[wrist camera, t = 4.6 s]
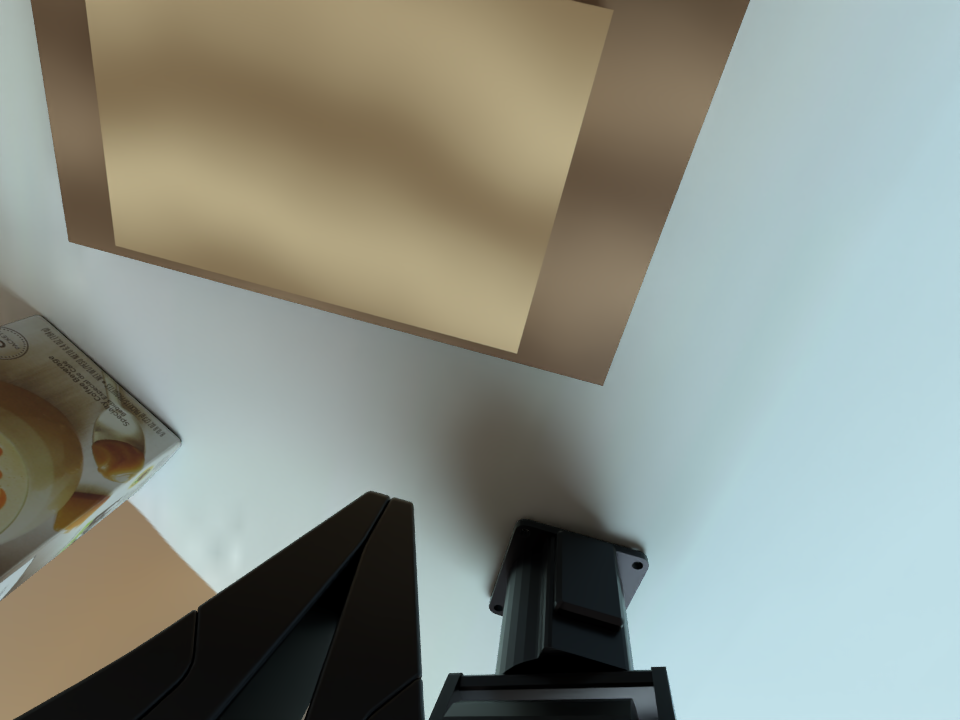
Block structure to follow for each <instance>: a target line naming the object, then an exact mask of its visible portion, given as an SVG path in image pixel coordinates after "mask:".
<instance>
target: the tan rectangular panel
mask: <svg viewBox="0 0 960 720" xmlns="http://www.w3.org/2000/svg"><path fill="white" fill-rule="evenodd" d="M85 3H86V11H87V19H88V27H89V35H90V43H91V51H92V59H93V67H94V76H95V84H96V92H97V100H98V108H99V116H100V124H101V132H102V140H103V148H104V156H105V165H106V173H107V181H108V189H109V197H110V205H111V213H112V221H113V229H114V237H115V245H116V246H119V247H123V248H126V249H130V250H134V251H137V252H141V253H145V254H149V255H152V256H156V257H160V258H163V259H167V260H171V261H175V262H178V263H182V264H186V265H189V266H193V267H197V268H201V269H204V270H208V271H212V272H215V273H219V274H223V275H227V276H230V277H234V278H238V279H241V280H245V281H249V282H253V283H256V284H260V285H264V286H267V287H271V288H275V289H279V290H282V291H286V292H290V293H293V294H297V295H301V296H305V297H308V298H312V299H316V300H319V301H323V302H327V303H331V304H334V305H338V306H342V307H345V308H349V309H353V310H357V311H360V312H364V313H368V314H372V315H375V316H379V317H383V318H386V319H390V320H394V321H398V322H401V323H405V324H409V325H412V326H416V327H420V328H424V329H427V330H431V331H435V332H438V333H442V334H446V335H450V336H453V337H457V338H461V339H464V340H468V341H472V342H476V343H479V344H483V345H487V346H490V347H494V348H498V349H502V350H505V351H509V352H513V353H516V354H517V352H518V348H519V345H520V341H521V337H522V334H523V330H524V327H525V323H526V320H527V316H528V313H529V309H530V305H531V302H532V298H533V295H534V291H535V288H536V284H537V281H538V277H539V274H540V270H541V266H542V263H543V259H544V256H545V252H546V249H547V245H548V242H549V238H550V235H551V231H552V227H553V224H554V220H555V217H556V213H557V210H558V206H559V203H560V199H561V196H562V192H563V188H564V185H565V181H566V178H567V174H568V171H569V167H570V164H571V160H572V157H573V153H574V149H575V146H576V142H577V139H578V135H579V132H580V128H581V125H582V121H583V117H584V114H585V110H586V107H587V103H588V100H589V96H590V93H591V89H592V86H593V82H594V78H595V75H596V71H597V68H598V64H599V61H600V57H601V54H602V50H603V47H604V43H605V39H606V36H607V32H608V29H609V25H610V22H611V18H612V15H613V11H614V10H611V9H607V8H602V7H598V6H594V5H589V4H585V3H581V2H576V1H572V0H85Z"/></svg>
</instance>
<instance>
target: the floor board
mask: <svg viewBox="0 0 960 720" xmlns="http://www.w3.org/2000/svg"><path fill="white" fill-rule="evenodd" d="M572 1H576V2H581V3H585V4H589V5H594V6H598V7H602V8H607V9H611V10H614V11H613V15H612V18H611V22H610V25H609V29H608V32H607V36H606V39H605V43H604V47H603V50H602V54H601V57H600V61H599V64H598V68H597V71H596V75H595V78H594V82H593V86H592V89H591V93H590V96H589V100H588V103H587V107H586V110H585V114H584V117H583V121H582V125H581V128H580V132H579V135H578V139H577V142H576V146H575V149H574V153H573V157H572V160H571V164H570V167H569V171H568V174H567V178H566V181H565V185H564V188H563V192H562V196H561V199H560V203H559V206H558V210H557V213H556V217H555V220H554V224H553V227H552V231H551V235H550V238H549V242H548V245H547V249H546V252H545V256H544V259H543V263H542V266H541V270H540V274H539V277H538V281H537V284H536V288H535V291H534V295H533V298H532V302H531V305H530V309H529V313H528V316H527V320H526V323H525V327H524V330H523V334H522V337H521V341H520V345H519V348H518V352H517V354H516V353H513V352H509V351H505V350H502V349H498V348H494V347H490V346H487V345H483V344H479V343H476V342H472V341H468V340H464V339H461V338H457V337H453V336H450V335H446V334H442V333H438V332H435V331H431V330H427V329H424V328H420V327H416V326H412V325H409V324H405V323H401V322H398V321H394V320H390V319H386V318H383V317H379V316H375V315H372V314H368V313H364V312H360V311H357V310H353V309H349V308H345V307H342V306H338V305H334V304H331V303H327V302H323V301H319V300H316V299H312V298H308V297H305V296H301V295H297V294H293V293H290V292H286V291H282V290H279V289H275V288H271V287H267V286H264V285H260V284H256V283H253V282H249V281H245V280H241V279H238V278H234V277H230V276H227V275H223V274H219V273H215V272H212V271H208V270H204V269H201V268H197V267H193V266H189V265H186V264H182V263H178V262H175V261H171V260H167V259H163V258H160V257H156V256H152V255H149V254H145V253H141V252H137V251H134V250H130V249H126V248H123V247H119V246H116V245H115V237H114V229H113V221H112V213H111V205H110V197H109V189H108V181H107V173H106V165H105V156H104V148H103V140H102V132H101V124H100V116H99V108H98V100H97V92H96V84H95V76H94V67H93V59H92V51H91V43H90V35H89V27H88V19H87V11H86V3H85V0H31V5H32V11H33V18H34V24H35V30H36V37H37V43H38V50H39V56H40V62H41V69H42V75H43V81H44V88H45V94H46V100H47V107H48V113H49V119H50V126H51V132H52V138H53V145H54V151H55V157H56V164H57V170H58V176H59V183H60V189H61V195H62V202H63V208H64V214H65V221H66V227H67V233H68V240H69V242H72V243H76V244H79V245H83V246H87V247H91V248H94V249H98V250H102V251H105V252H109V253H113V254H116V255H120V256H124V257H128V258H131V259H135V260H139V261H142V262H146V263H150V264H153V265H157V266H161V267H165V268H168V269H172V270H176V271H179V272H183V273H187V274H190V275H194V276H198V277H202V278H205V279H209V280H213V281H216V282H220V283H224V284H228V285H231V286H235V287H239V288H242V289H246V290H250V291H253V292H257V293H261V294H265V295H268V296H272V297H276V298H279V299H283V300H287V301H290V302H294V303H298V304H302V305H305V306H309V307H313V308H316V309H320V310H324V311H327V312H331V313H335V314H339V315H342V316H346V317H350V318H353V319H357V320H361V321H365V322H368V323H372V324H376V325H379V326H383V327H387V328H390V329H394V330H398V331H402V332H405V333H409V334H413V335H416V336H420V337H424V338H427V339H431V340H435V341H439V342H442V343H446V344H450V345H453V346H457V347H461V348H464V349H468V350H472V351H476V352H479V353H483V354H487V355H490V356H494V357H498V358H501V359H505V360H509V361H513V362H516V363H520V364H524V365H527V366H531V367H535V368H539V369H542V370H546V371H550V372H553V373H557V374H561V375H564V376H568V377H572V378H576V379H579V380H583V381H587V382H590V383H594V384H598V385H601V386H603V384H604V381H605V379H606V376H607V373H608V371H609V368H610V366H611V363H612V360H613V358H614V355H615V353H616V350H617V347H618V345H619V342H620V339H621V337H622V334H623V332H624V329H625V326H626V324H627V321H628V318H629V316H630V313H631V311H632V308H633V305H634V303H635V300H636V298H637V295H638V292H639V290H640V287H641V284H642V282H643V279H644V277H645V274H646V271H647V269H648V266H649V263H650V261H651V258H652V256H653V253H654V250H655V248H656V245H657V243H658V240H659V237H660V235H661V232H662V229H663V227H664V224H665V222H666V219H667V216H668V214H669V211H670V208H671V206H672V203H673V201H674V198H675V195H676V193H677V190H678V188H679V185H680V182H681V180H682V177H683V174H684V172H685V169H686V167H687V164H688V161H689V159H690V156H691V153H692V151H693V148H694V146H695V143H696V140H697V138H698V135H699V133H700V130H701V127H702V125H703V122H704V119H705V117H706V114H707V112H708V109H709V106H710V104H711V101H712V98H713V96H714V93H715V91H716V88H717V85H718V83H719V80H720V78H721V75H722V72H723V70H724V67H725V64H726V62H727V59H728V57H729V54H730V51H731V49H732V46H733V43H734V41H735V38H736V36H737V33H738V30H739V28H740V25H741V23H742V20H743V17H744V15H745V12H746V9H747V7H748V4H749V2H750V0H572Z"/></svg>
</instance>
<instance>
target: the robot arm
mask: <svg viewBox="0 0 960 720" xmlns="http://www.w3.org/2000/svg"><path fill="white" fill-rule="evenodd" d="M522 529H527V530H529V531H523V530H522ZM634 562H639V563H634ZM648 567H649V564H648V559H647V556H646V555H645V554H644V553H642V552H640V551H636V550H633V549H629V548H626V547H622V546H619V545H615V544H612V543H608V542H605V541H601V540H598V539H594V538H591V537H587V536H584V535H580V534H577V533H573V532H570V531H566V530H563V529H559V528H556V527H552V526H549V525H545V524H542V523H538V522H535V521H531V520H527V519H522V520H519V521H518V522H517V523H516V525H515V528H514V531H513V534H512V537H511V540H510V542H509V545H508V548H507V551H506V554H505V557H504V560H503V563H502V566H501V569H500V572H499V575H498V578H497V581H496V584H495V587H494V590H493V593H492V596H491V598H490V604H489V609H490V611H492V612H493V613H495V614H497V615H501V616H503V619H502V626H501V634H500V642H499V649H498V657H497V665H496V673H495V674H492V675H463V674H462V673H449V674H448V677H447V679H446V681H445V684H444V686H443V688H442V690H441V693H440V695H439V697H438V700H437V702H436V704H435V706H434V709H433V711H432V713H431V716H430V718H429V720H677V719H676V714H675V709H674V704H673V700H672V695H671V690H670V685H669V680H668V676H667V671H666V667H651V670H634V668H633V661H632V653H631V645H630V638H629V630H628V622H627V614H626V609H627V607H628V605H629V604H630V602H631V600H632V598H633V596H634V594H635V592H636V590H637V588H638V587H639V585H640V583H641V581H642V579H643V577H644V575H645V573H646V572H647V570H648ZM421 677H422V665H421V645H420V625H419V605H418V585H417V565H416V545H415V525H414V506H413V504H412V502H409V501H405V500H402V499H398V498H392V499H390V497H389V496H388V495H384V494H381V493H377V492H374V491H369V492H366V493H365V494H363V495H362V496H360V497H359V498H358V499H356V500H355V501H353V502H352V503H350V504H349V505H347V506H346V507H344V508H343V509H341V510H340V511H338V512H337V513H336V514H334V515H333V516H331V517H330V518H328V519H327V520H325V521H324V522H322V523H321V524H319V525H318V526H316V527H315V528H313V529H312V530H311V531H309V532H308V533H306V534H305V535H303V536H302V537H300V538H299V539H297V540H296V541H294V542H293V543H291V544H290V545H289V546H287V547H286V548H284V549H283V550H281V551H280V552H278V553H277V554H275V555H274V556H272V557H271V558H269V559H268V560H266V561H265V562H264V563H262V564H261V565H259V566H258V567H256V568H255V569H253V570H252V571H250V572H249V573H247V574H246V575H244V576H243V577H242V578H240V579H239V580H237V581H236V582H234V583H233V584H231V585H230V586H228V587H227V588H225V589H224V590H222V591H221V592H219V593H218V594H217V595H215V596H214V597H212V598H211V599H209V600H208V601H206V602H205V603H203V604H202V605H200V606H199V607H198V612H197V611H196V610H193V611H191V612H190V613H188V614H187V615H185V616H184V617H182V618H181V619H180V620H178V621H177V622H175V623H174V624H172V625H171V626H169V627H168V628H166V629H165V630H163V631H161V632H160V633H159V634H157V635H155V636H154V637H152V638H151V639H149V640H148V641H146V642H145V643H143V644H141V645H140V646H138V647H137V648H136V649H134V650H132V651H131V652H129V653H127V654H126V655H124V656H122V657H121V658H119V659H118V660H116V661H114V662H112V663H111V664H109V665H107V666H106V667H104V668H102V669H100V670H99V671H97V672H95V673H94V674H92V675H90V676H89V677H87V678H86V679H84V680H82V681H80V682H79V683H77V684H75V685H73V686H71V687H70V688H68V689H66V690H64V691H63V692H61V693H59V694H57V695H56V696H54V697H52V698H50V699H49V700H47V701H45V702H43V703H42V704H40V705H38V706H37V707H35V708H33V709H31V710H29V711H28V712H26V713H24V714H23V715H21V716H19V717H17V718H15V719H13V720H301V719H302V717H303V715H304V714H305V711H306V709H307V708H308V706H309V708H308V711H307V713H306V717H305V719H304V720H425V715H424V701H423V682H422V680H421ZM309 704H310V705H309Z"/></svg>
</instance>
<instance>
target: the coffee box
mask: <svg viewBox="0 0 960 720" xmlns="http://www.w3.org/2000/svg"><path fill="white" fill-rule="evenodd" d="M180 446H181V441H180V439H179V438H178V437H177V436H176V435H175V434H173V433H172V432H171V431H170V430H169V429H168V428H167V427H166V426H164V425H163V424H162V423H161V422H160V421H159V420H158V419H157V418H156V417H154V416H153V415H152V414H151V413H150V412H149V411H148V410H147V409H146V408H144V407H143V406H142V405H141V404H140V403H139V402H138V401H137V400H135V399H134V398H133V397H132V396H131V395H130V394H129V393H127V392H126V391H125V390H124V389H123V388H122V387H121V386H119V385H118V384H117V383H116V382H115V381H114V380H113V379H112V378H110V377H109V376H108V375H107V374H106V373H105V372H104V371H103V370H102V369H100V368H99V367H98V366H97V365H96V364H95V363H94V362H93V361H92V360H90V359H89V358H88V357H87V356H86V355H85V354H84V353H83V352H81V351H80V350H79V349H78V348H77V347H76V346H75V345H73V344H72V343H71V342H70V341H69V340H68V339H67V338H66V337H65V336H63V335H62V334H61V333H60V332H59V331H58V330H57V329H56V328H54V327H53V326H52V325H51V324H50V323H49V322H47V321H46V320H45V319H44V318H42V317H41V316H40V315H35V316H31V317H28V318H25V319H22V320H19V321H16V322H12V323H9V324H6V325H3V326H1V327H0V601H1V600H2V599H3V598H5V597H6V596H7V595H9V594H10V593H11V592H12V591H13V590H15V589H16V588H17V587H18V586H20V585H21V584H22V583H23V582H25V581H26V580H27V579H28V578H30V577H31V576H32V575H33V574H34V573H36V572H37V571H38V570H39V569H41V568H42V567H43V566H45V565H46V564H47V563H48V562H50V561H51V560H52V559H54V558H55V557H56V556H57V555H58V554H60V553H61V552H62V551H63V550H65V549H66V548H67V547H68V546H70V545H71V544H72V543H73V542H75V541H76V540H77V539H78V538H80V537H81V536H82V535H83V534H85V533H86V532H87V531H88V530H90V529H91V528H92V527H94V526H95V525H96V524H97V523H98V522H100V521H101V520H102V519H104V518H105V517H106V516H107V515H108V514H110V513H111V512H112V511H113V510H115V509H116V508H117V507H118V506H120V505H121V504H122V503H123V502H125V501H126V500H127V499H129V498H130V497H131V496H133V495H134V494H135V493H136V492H137V491H138V490H139V489H140V488H141V487H142V486H143V485H144V484H145V483H146V482H147V481H148V480H149V479H150V478H151V477H152V476H153V475H154V474H155V473H156V472H157V471H158V470H159V469H160V468H161V467H162V466H163V465H164V464H165V463H166V462H167V461H168V460H169V459H170V458H171V457H172V456H173V454H174V453H175V452H176V451H177V450H178V448H179V447H180Z"/></svg>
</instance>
